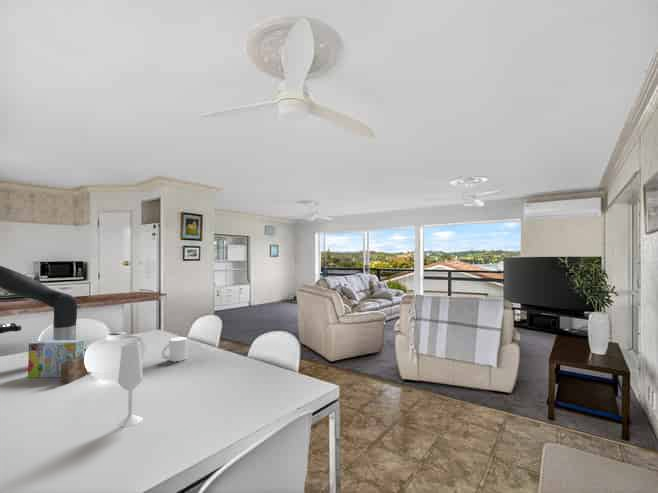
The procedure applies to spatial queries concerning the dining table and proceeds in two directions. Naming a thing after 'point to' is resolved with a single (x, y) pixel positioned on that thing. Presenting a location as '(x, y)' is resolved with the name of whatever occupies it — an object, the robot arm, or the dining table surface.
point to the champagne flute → (130, 378)
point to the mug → (176, 349)
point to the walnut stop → (73, 369)
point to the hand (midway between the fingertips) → (19, 328)
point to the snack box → (51, 356)
